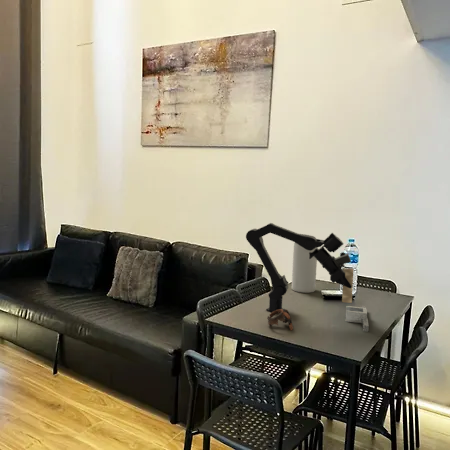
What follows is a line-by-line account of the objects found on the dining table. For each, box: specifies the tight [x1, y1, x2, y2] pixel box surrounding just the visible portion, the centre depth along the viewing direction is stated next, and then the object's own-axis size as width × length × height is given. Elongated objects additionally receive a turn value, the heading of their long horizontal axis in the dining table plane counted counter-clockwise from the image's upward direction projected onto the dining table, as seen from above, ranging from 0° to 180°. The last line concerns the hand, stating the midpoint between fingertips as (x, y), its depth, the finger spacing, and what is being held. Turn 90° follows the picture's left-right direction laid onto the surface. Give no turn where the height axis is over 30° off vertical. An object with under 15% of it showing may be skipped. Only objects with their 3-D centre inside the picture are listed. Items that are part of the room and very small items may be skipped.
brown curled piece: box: [266, 308, 294, 331], centre depth 177 cm, size 12×10×8 cm
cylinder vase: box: [291, 242, 319, 294], centre depth 234 cm, size 12×12×25 cm
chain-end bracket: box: [345, 305, 370, 333], centre depth 188 cm, size 9×28×4 cm, turn 165°
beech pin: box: [341, 267, 354, 304], centre depth 188 cm, size 4×4×14 cm
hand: (351, 286), depth 188 cm, fingers closed on beech pin, 4 cm apart
